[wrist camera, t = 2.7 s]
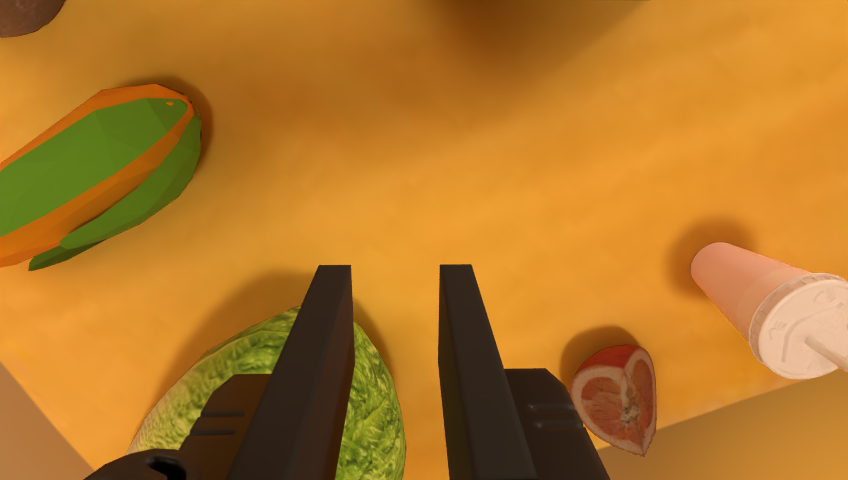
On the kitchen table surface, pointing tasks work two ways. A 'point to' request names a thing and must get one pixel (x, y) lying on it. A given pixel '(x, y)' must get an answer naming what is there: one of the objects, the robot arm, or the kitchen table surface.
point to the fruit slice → (618, 397)
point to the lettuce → (257, 354)
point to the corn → (96, 173)
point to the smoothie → (778, 309)
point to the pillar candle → (26, 15)
